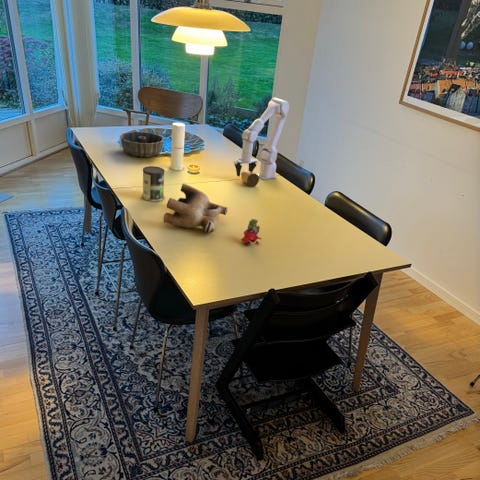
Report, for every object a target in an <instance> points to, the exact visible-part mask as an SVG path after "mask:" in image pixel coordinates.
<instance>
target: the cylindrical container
mask: <svg viewBox="0 0 480 480" xmlns="http://www.w3.org/2000/svg"><path fill="white" fill-rule="evenodd" d="M185 135H186V124H185V123H182V122H172V124H171V147H170V152H171V153H170V166H169V167H170V169H171V170H174V171H183V169H184V153H185V152H184V151H185Z"/></svg>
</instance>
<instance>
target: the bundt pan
mask: <svg viewBox="0 0 480 480" xmlns="http://www.w3.org/2000/svg"><path fill="white" fill-rule="evenodd" d="M119 138H120V141H121V142H120V143H121V147H122V149H123V151H124V152H125V153H126V154H128V155H129V156H134V157H140V158H142V157H145V158H150V157H151V158H153V157H155V156H157V155H159V154H160V153H161V152H162V150H163V146H164V141H165V138H164V137H163V136H162V135H160V134H158V133H153V132H148V131H127V132H123V133H121V134H119Z"/></svg>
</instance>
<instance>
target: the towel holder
mask: <svg viewBox="0 0 480 480" xmlns="http://www.w3.org/2000/svg"><path fill="white" fill-rule="evenodd" d="M257 174H258V173H255V172H250V171H249V169H245V170H244V171H242V172H240V178H241V180H242V182H244V183H246V184H247V185H248V186H249V187H250V188H253V187H256V186H258V184H259V181H260V177H259V176H258V175H257Z"/></svg>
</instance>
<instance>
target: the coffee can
mask: <svg viewBox="0 0 480 480" xmlns="http://www.w3.org/2000/svg"><path fill="white" fill-rule="evenodd" d="M165 173H166V172H165V169H164V168H163V167H159V166H157V165H156V166H154V165H150V166H144V167H143V168H142V198H143V199H144V200H146V201H149V202H160V201H162V200H164V194H165V193H164V191H165V189H164V188H165Z"/></svg>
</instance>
